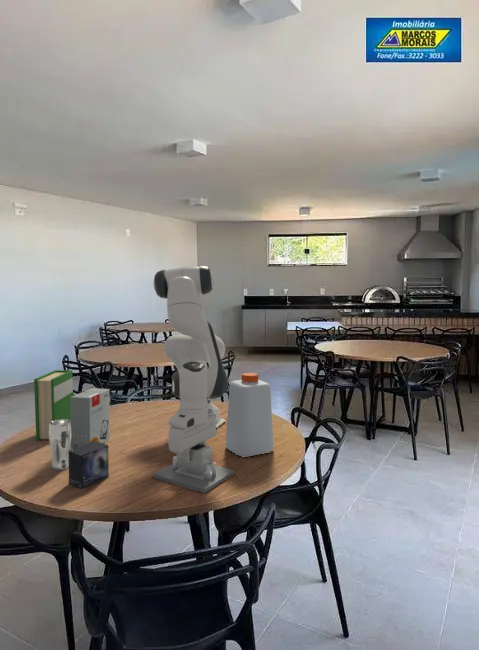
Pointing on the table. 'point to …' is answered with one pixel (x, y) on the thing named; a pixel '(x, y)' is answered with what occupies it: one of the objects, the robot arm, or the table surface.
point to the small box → (88, 464)
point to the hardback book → (52, 400)
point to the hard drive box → (90, 417)
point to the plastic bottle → (249, 417)
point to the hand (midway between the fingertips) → (194, 458)
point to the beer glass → (60, 443)
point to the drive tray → (194, 476)
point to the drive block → (196, 459)
